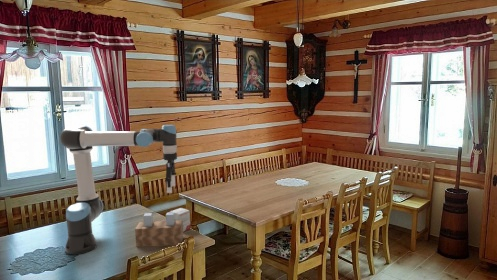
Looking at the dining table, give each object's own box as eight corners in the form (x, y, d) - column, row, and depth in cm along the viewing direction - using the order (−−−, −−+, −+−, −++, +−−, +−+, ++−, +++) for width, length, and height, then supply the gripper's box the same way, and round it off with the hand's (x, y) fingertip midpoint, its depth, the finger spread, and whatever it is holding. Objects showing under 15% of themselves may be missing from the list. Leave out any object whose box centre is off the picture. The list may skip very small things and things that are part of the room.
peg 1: (144, 232, 190) (143, 215, 189) (145, 229, 194) (145, 213, 193) (151, 232, 191) (150, 215, 189) (153, 229, 195) (152, 213, 193)
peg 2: (166, 231, 191) (165, 215, 190) (167, 228, 195) (166, 212, 194) (174, 231, 191) (173, 214, 190) (175, 228, 195) (174, 212, 194)
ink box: (181, 225, 217) (180, 207, 215) (190, 228, 212) (190, 209, 210) (170, 229, 211) (169, 210, 209) (179, 233, 205) (178, 213, 203)
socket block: (136, 246, 188) (135, 228, 187) (140, 238, 198) (139, 222, 196) (181, 244, 190) (180, 227, 188) (183, 237, 199) (182, 220, 198)
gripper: (173, 156, 184) (175, 195, 187) (179, 148, 208) (180, 183, 211) (159, 156, 183) (160, 195, 186) (166, 149, 208) (167, 183, 211)
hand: (171, 189), depth 199 cm, fingers open, 13 cm apart
